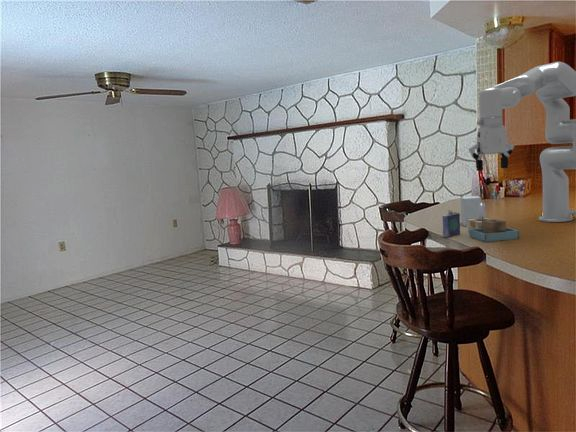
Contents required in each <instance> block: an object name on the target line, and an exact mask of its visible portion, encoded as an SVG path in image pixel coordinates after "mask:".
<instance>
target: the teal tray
mask: <svg viewBox="0 0 576 432" xmlns="http://www.w3.org/2000/svg"><path fill="white" fill-rule="evenodd" d="M469 238H471V239H473V240H478V241H480V240H481V241H480V242H483V241H484V242H483V243H491V242H492V241H494V242H501V241H500V240H503V241H511V240H519V239H520V230H519V229H513V228H510V227H506V232H500V233H491V234H484V233H483V231H482V228H479V229H470V230H469Z"/></svg>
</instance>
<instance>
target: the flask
mask: <svg viewBox="0 0 576 432" xmlns="http://www.w3.org/2000/svg"><path fill="white" fill-rule="evenodd" d="M447 212H448V214H447V213H446V214H443V215H442V217H441V218H442V237H443V238H450V237H451V238H452V237H455V236H459V235H461V230H460V228H461V223H460V222H461V221H460V220H461V219H460V218H461V217H460V216H461V214H460V213H461V212H457V211H453V210H452V209H448V210H447Z"/></svg>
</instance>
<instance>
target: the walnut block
mask: <svg viewBox="0 0 576 432" xmlns="http://www.w3.org/2000/svg"><path fill="white" fill-rule="evenodd" d="M491 219H492V220H482V231H483V233H484V234H491V233H500V232H506V228H507V220H504V219H499V218H494V219H493V218H491Z"/></svg>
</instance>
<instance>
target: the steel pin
mask: <svg viewBox="0 0 576 432" xmlns="http://www.w3.org/2000/svg"><path fill="white" fill-rule="evenodd" d="M485 218H486V203H485V202H481V203H478V219H479V221H482V220H485Z"/></svg>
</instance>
